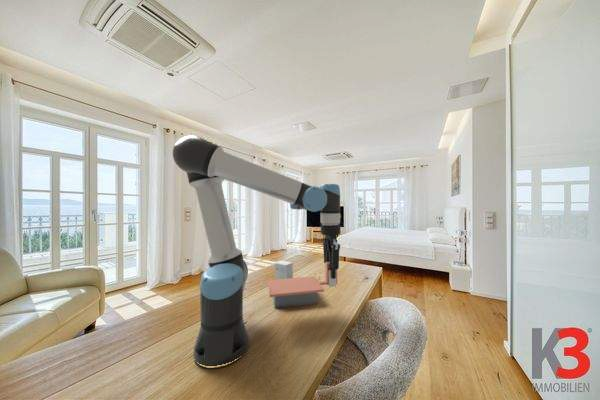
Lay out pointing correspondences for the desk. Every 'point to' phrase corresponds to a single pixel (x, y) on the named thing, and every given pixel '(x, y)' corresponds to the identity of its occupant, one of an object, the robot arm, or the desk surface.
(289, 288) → the lid
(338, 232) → the robot arm
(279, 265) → the small box
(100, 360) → the desk surface
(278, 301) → the tub
